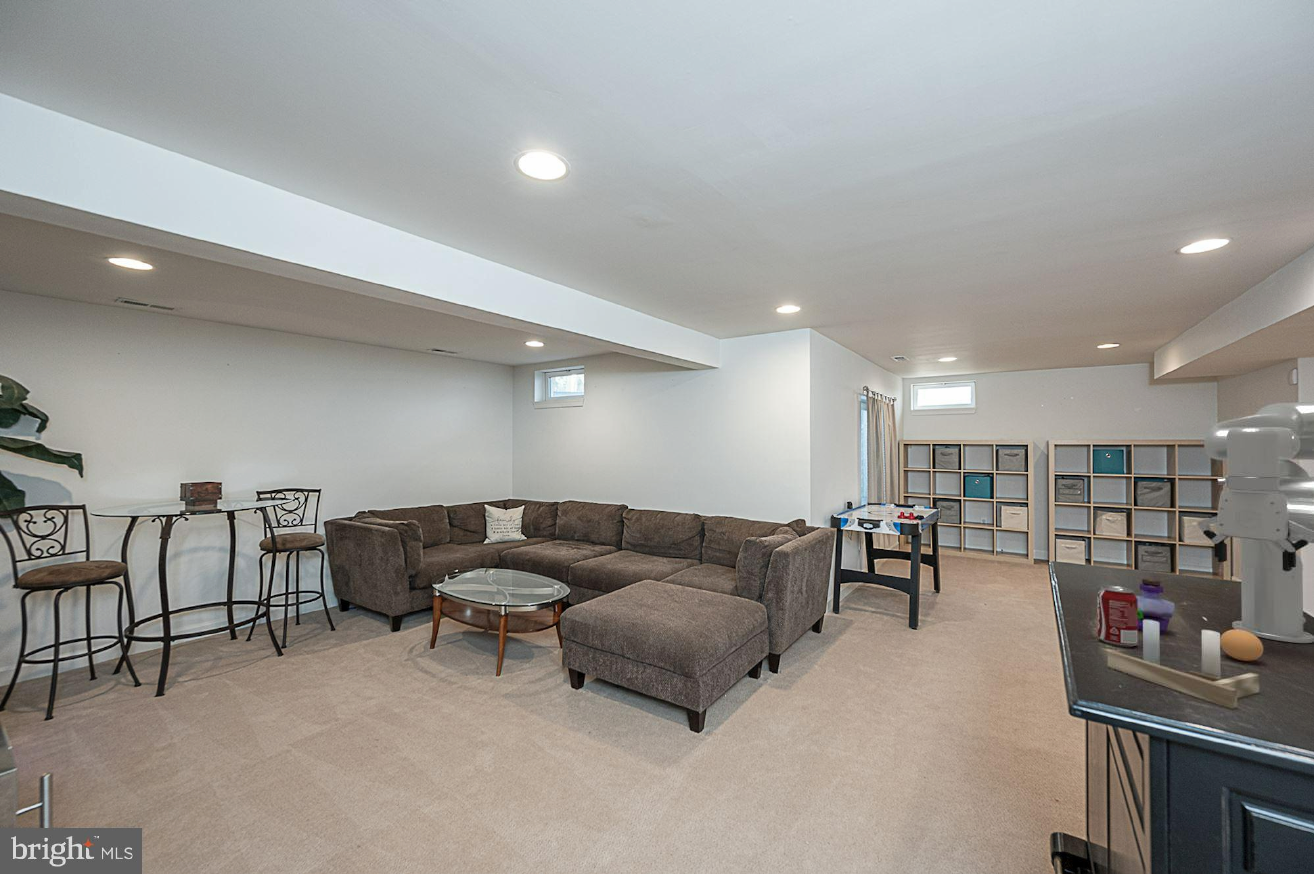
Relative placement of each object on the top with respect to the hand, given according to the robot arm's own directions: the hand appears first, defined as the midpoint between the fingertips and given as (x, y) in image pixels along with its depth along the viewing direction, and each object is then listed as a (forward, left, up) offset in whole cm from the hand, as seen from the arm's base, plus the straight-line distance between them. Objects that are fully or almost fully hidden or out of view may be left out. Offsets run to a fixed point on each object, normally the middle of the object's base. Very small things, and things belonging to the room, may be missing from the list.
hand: (1253, 565), depth 115 cm
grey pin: (+30, -3, -18) cm, 35 cm away
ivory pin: (+27, +5, -18) cm, 33 cm away
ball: (+9, +2, -15) cm, 18 cm away
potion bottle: (+5, -16, -18) cm, 25 cm away
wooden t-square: (+33, +4, -18) cm, 38 cm away
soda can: (+23, -13, -18) cm, 32 cm away
